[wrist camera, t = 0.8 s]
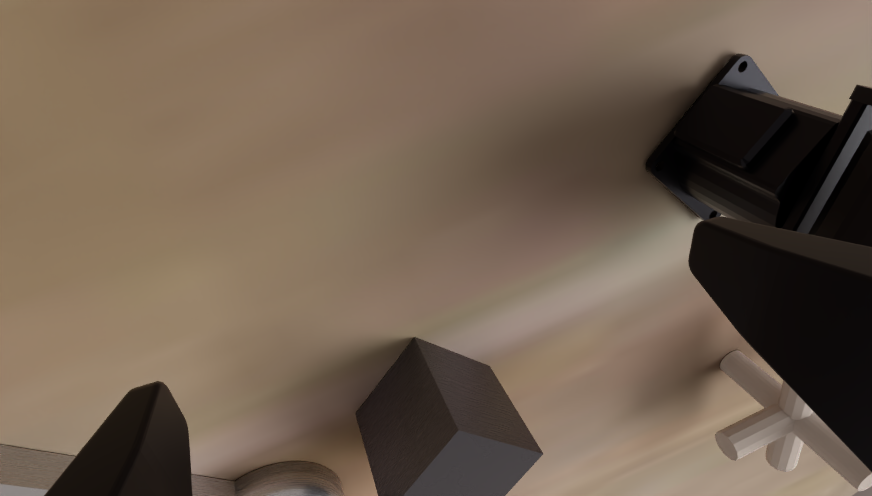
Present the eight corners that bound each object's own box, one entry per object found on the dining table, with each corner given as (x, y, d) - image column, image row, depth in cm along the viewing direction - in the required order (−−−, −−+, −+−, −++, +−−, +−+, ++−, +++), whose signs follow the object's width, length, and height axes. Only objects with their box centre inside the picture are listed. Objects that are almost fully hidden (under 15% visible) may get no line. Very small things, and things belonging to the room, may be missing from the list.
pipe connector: (668, 431, 39) (783, 561, 31) (673, 339, 34) (815, 468, 26) (777, 378, 41) (914, 488, 33) (800, 280, 35) (972, 385, 27)
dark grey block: (489, 366, 29) (543, 454, 24) (433, 434, 30) (473, 530, 26) (414, 337, 26) (458, 430, 21) (355, 413, 28) (384, 517, 23)
